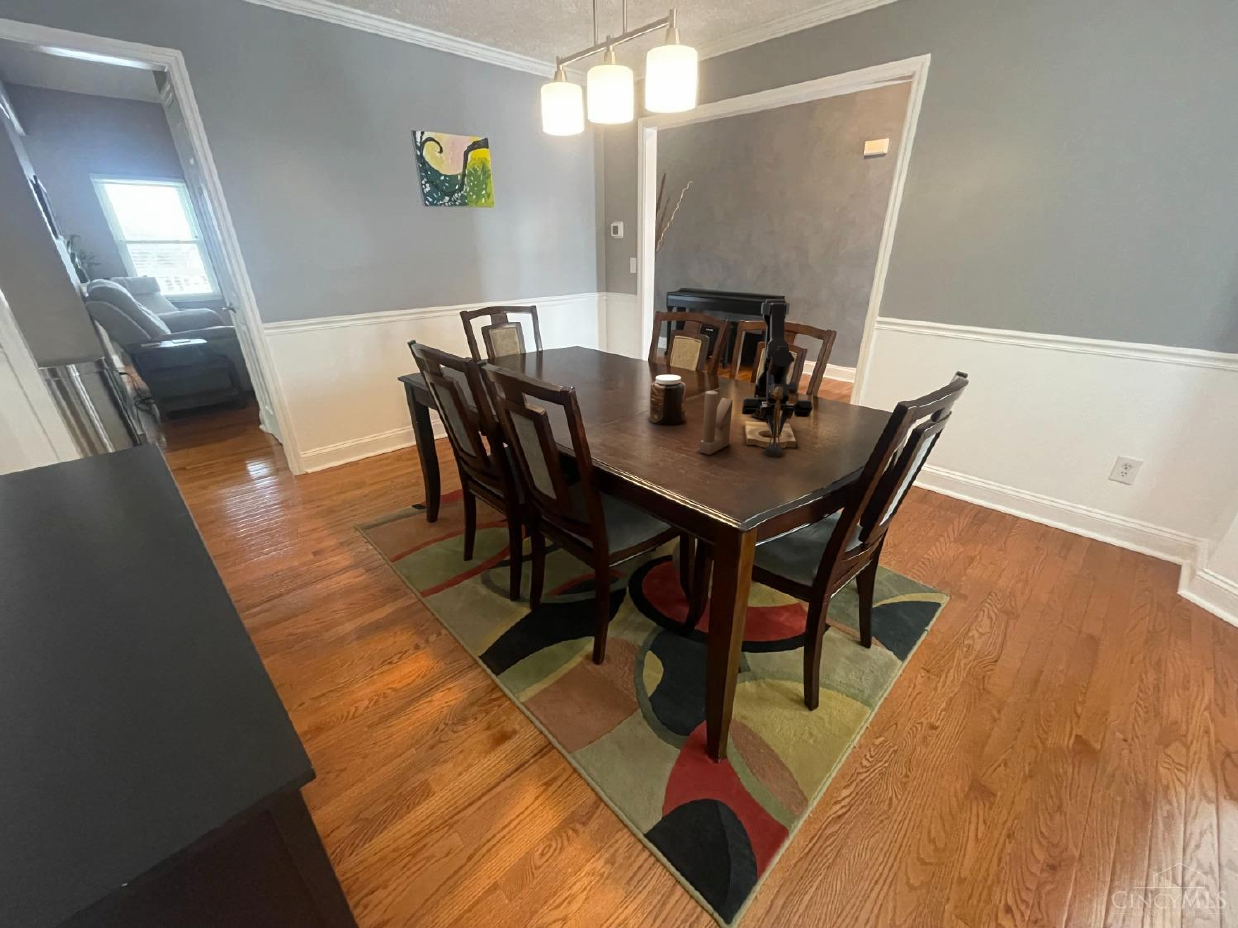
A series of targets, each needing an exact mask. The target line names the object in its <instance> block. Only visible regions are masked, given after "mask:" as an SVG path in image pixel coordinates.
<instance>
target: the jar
mask: <svg viewBox="0 0 1238 928" xmlns="http://www.w3.org/2000/svg"><path fill="white" fill-rule="evenodd" d="M686 387H687V386H686V383H685V382H683V381H682V376H680V375H676V374H660V375H656V376H655V381H652V382H651V383H650V391H649V420H650V422H651V423H653V424H657V425H663V426H673V425H674V426H675V425H679V424H683V422H685V417H686V398H687V395H686V394H687V388H686Z"/></svg>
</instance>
